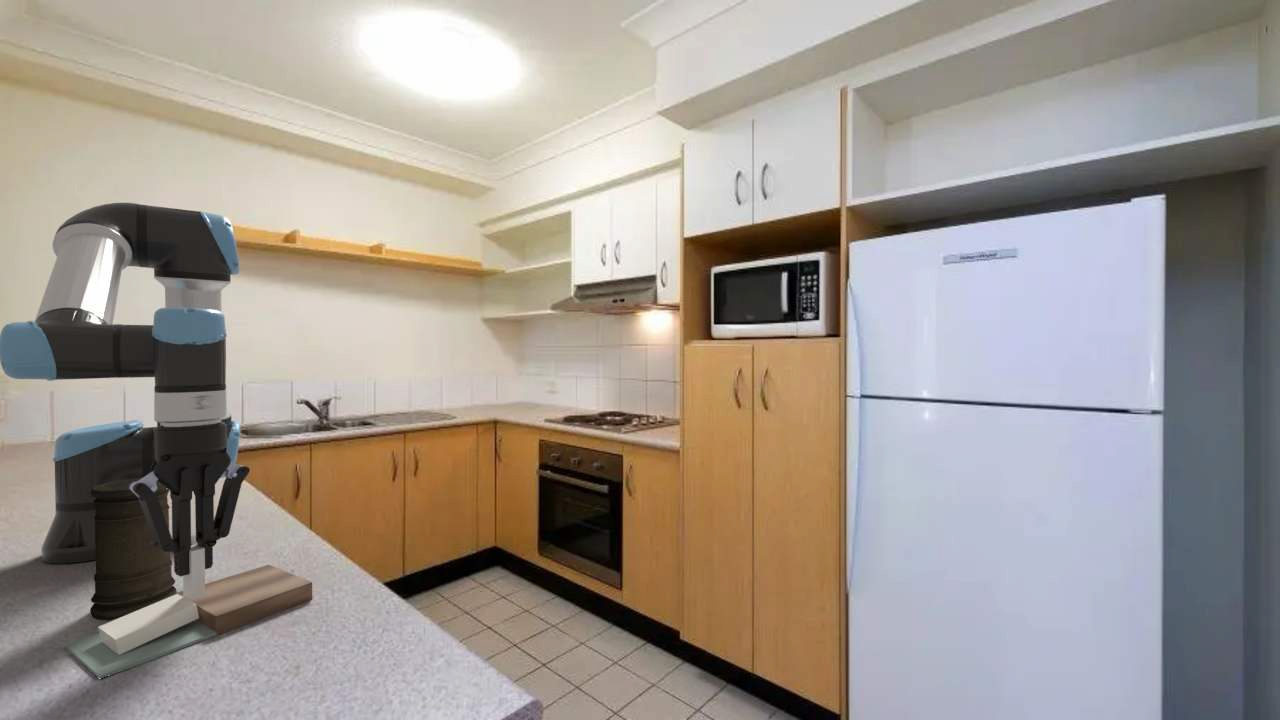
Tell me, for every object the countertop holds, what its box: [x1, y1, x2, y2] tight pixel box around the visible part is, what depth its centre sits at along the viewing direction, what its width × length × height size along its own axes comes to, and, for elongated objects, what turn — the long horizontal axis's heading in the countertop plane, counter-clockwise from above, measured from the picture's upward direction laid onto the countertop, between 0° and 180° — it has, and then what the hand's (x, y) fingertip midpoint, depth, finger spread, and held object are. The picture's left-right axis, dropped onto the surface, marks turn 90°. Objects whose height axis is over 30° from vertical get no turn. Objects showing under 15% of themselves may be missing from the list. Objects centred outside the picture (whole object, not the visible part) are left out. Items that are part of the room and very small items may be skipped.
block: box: [97, 594, 199, 655], centre depth 69 cm, size 6×8×2 cm
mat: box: [63, 620, 217, 679], centre depth 68 cm, size 13×11×1 cm
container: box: [89, 478, 178, 621], centre depth 78 cm, size 9×9×18 cm
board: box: [175, 564, 313, 636], centre depth 78 cm, size 13×12×2 cm
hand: (194, 595), depth 73 cm, fingers closed
